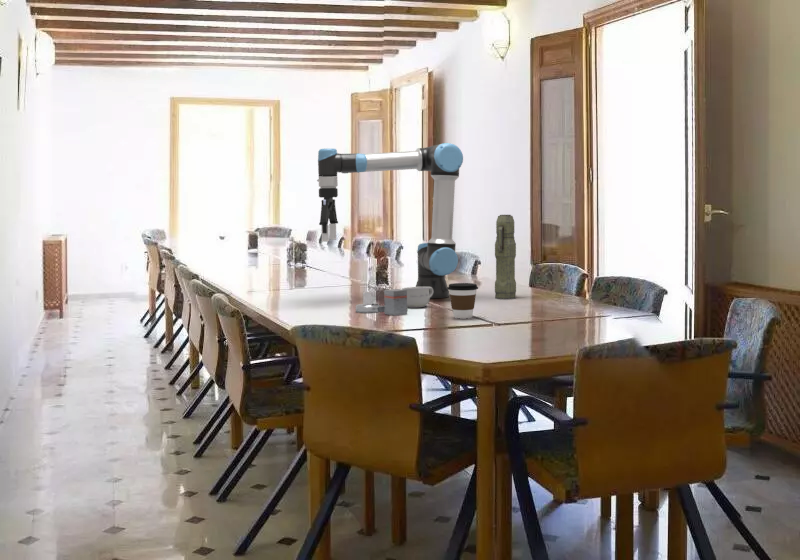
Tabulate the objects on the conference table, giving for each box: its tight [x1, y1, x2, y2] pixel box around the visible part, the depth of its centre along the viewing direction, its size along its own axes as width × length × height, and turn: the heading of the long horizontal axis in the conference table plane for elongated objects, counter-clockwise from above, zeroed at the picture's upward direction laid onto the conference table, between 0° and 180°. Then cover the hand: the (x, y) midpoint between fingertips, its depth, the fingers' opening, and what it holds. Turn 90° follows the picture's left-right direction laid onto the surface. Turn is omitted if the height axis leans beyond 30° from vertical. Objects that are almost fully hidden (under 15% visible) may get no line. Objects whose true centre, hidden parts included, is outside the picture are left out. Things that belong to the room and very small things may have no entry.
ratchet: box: [355, 291, 385, 314], centre depth 359 cm, size 20×9×8 cm, turn 95°
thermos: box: [494, 214, 517, 300], centre depth 396 cm, size 9×12×35 cm
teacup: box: [401, 286, 433, 309], centre depth 371 cm, size 14×11×8 cm
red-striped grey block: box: [383, 288, 408, 316], centre depth 350 cm, size 6×6×9 cm
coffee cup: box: [447, 282, 479, 320], centre depth 338 cm, size 11×11×12 cm
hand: (329, 240), depth 379 cm, fingers open, 13 cm apart
